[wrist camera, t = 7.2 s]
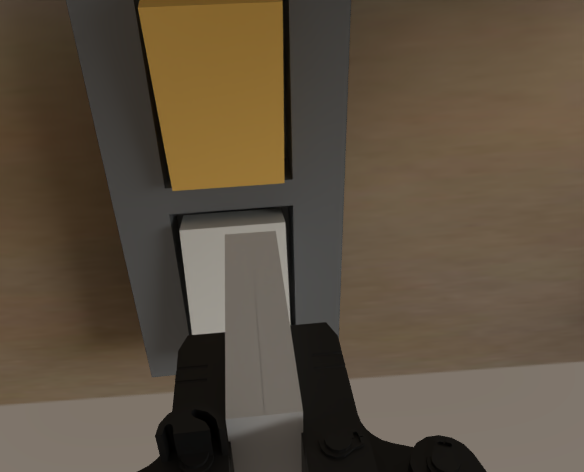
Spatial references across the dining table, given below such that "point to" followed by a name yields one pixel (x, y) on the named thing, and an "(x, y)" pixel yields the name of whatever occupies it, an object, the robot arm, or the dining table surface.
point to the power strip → (174, 204)
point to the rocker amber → (218, 89)
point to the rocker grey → (220, 260)
